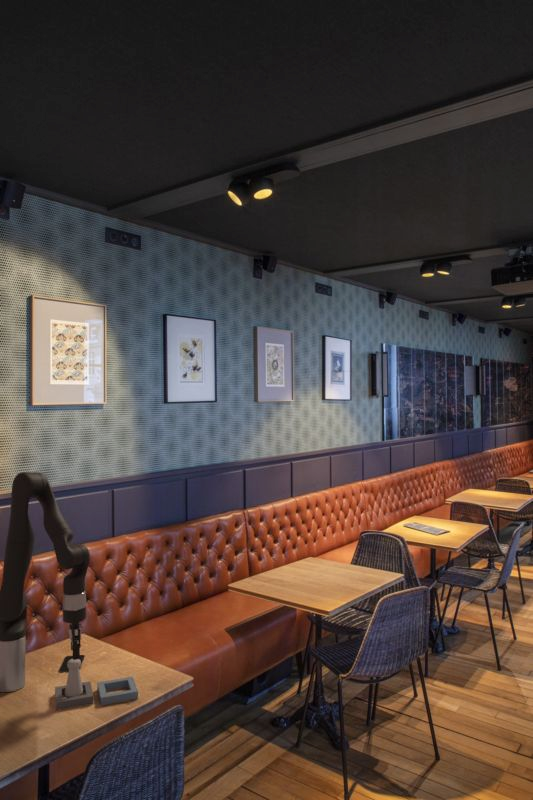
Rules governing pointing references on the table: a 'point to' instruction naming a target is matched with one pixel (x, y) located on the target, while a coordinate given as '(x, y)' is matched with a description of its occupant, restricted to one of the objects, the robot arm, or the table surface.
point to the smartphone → (65, 661)
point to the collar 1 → (75, 700)
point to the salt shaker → (74, 679)
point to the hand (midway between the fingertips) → (75, 654)
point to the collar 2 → (118, 696)
